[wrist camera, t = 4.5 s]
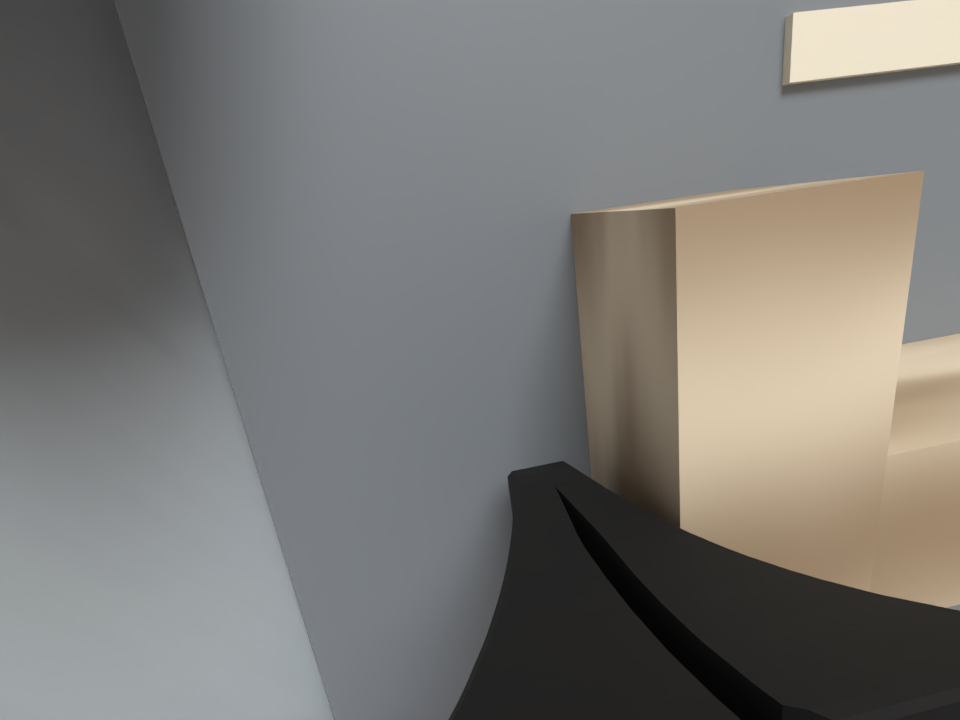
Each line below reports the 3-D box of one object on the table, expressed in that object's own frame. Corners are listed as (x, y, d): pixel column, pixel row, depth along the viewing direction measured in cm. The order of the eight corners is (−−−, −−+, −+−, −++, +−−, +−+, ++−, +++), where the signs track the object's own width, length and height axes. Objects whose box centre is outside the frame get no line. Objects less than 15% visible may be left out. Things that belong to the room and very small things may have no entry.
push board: (1104, 616, 18) (1152, 644, 16) (375, 807, 15) (372, 855, 14) (1342, -121, 11) (1448, -159, 10) (132, -19, 8) (89, -58, 7)
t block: (967, 570, 14) (1168, 695, 11) (605, 659, 13) (684, 834, 9) (1053, 142, 11) (1401, 99, 7) (570, 213, 10) (675, 207, 6)
